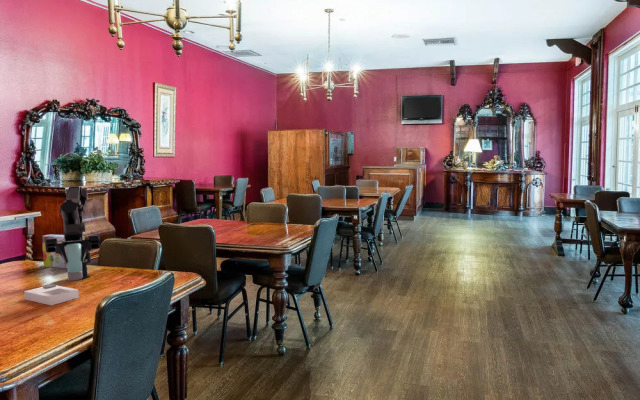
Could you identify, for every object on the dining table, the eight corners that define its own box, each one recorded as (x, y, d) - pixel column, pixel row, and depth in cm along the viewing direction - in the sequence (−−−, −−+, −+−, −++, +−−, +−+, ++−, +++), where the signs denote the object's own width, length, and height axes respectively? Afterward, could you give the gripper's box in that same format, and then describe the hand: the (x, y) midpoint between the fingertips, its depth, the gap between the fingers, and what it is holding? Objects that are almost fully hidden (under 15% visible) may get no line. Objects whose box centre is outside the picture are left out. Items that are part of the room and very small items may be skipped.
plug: (65, 279, 191) (63, 245, 190) (76, 276, 196) (75, 242, 195) (73, 280, 189) (71, 246, 188) (85, 277, 194) (83, 243, 192)
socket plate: (24, 299, 190) (24, 289, 190) (52, 291, 200) (52, 282, 199) (51, 305, 182) (50, 295, 182) (78, 297, 192) (78, 288, 192)
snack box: (86, 267, 242) (85, 235, 241) (77, 269, 237) (76, 237, 235) (52, 264, 249) (50, 233, 248) (42, 266, 244) (40, 235, 242)
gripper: (43, 217, 189) (44, 252, 181) (98, 214, 198) (102, 247, 189) (45, 235, 197) (46, 269, 189) (98, 231, 206) (101, 264, 197)
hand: (74, 262), depth 191 cm, fingers closed on plug, 5 cm apart
